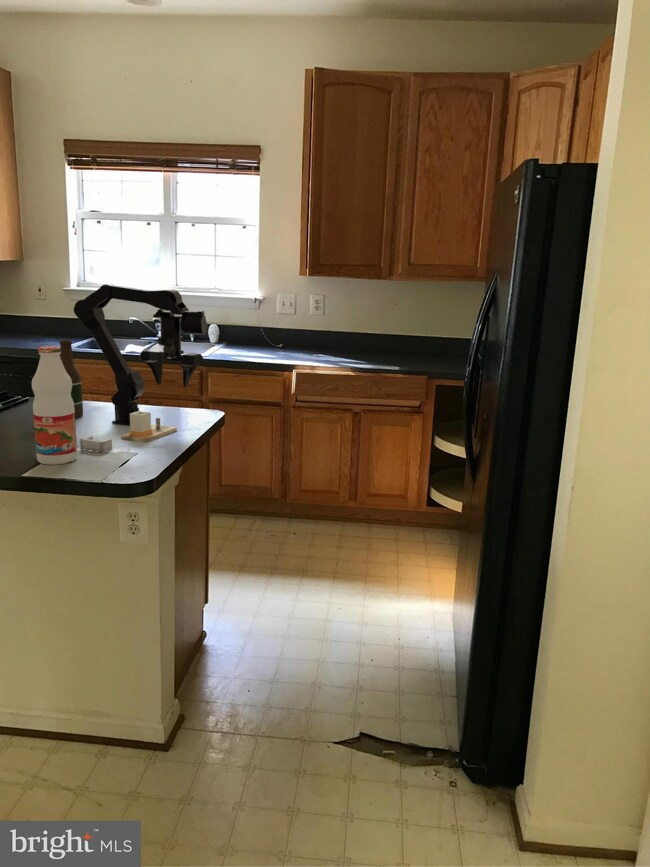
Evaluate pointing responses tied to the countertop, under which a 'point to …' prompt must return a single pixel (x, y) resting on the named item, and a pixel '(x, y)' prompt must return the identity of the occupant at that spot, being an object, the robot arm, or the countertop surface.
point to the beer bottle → (72, 375)
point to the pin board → (156, 433)
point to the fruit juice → (53, 410)
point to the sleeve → (140, 423)
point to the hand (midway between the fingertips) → (172, 385)
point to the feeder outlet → (95, 444)
